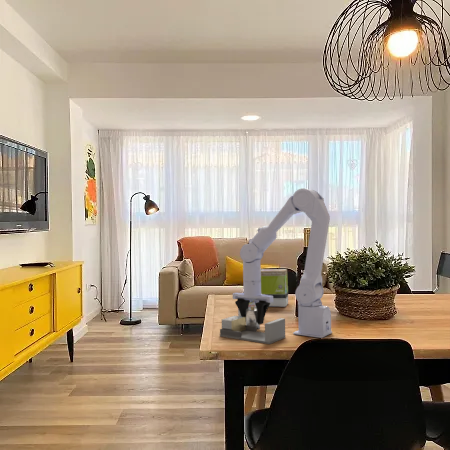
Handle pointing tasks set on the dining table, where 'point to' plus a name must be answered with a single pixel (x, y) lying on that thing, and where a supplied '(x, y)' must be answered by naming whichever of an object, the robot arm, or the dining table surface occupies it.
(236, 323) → the block
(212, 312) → the dining table surface
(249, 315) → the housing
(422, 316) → the dining table surface
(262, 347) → the dining table surface
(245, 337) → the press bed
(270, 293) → the tea box
